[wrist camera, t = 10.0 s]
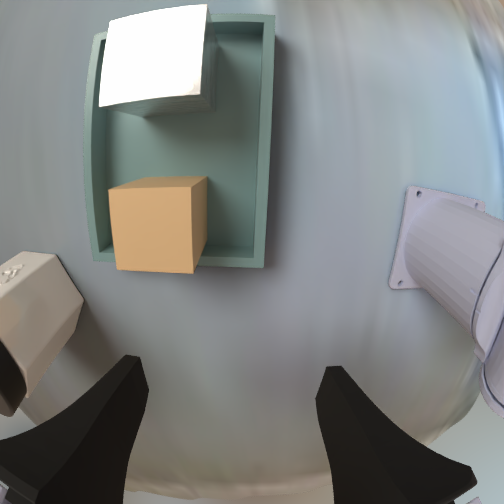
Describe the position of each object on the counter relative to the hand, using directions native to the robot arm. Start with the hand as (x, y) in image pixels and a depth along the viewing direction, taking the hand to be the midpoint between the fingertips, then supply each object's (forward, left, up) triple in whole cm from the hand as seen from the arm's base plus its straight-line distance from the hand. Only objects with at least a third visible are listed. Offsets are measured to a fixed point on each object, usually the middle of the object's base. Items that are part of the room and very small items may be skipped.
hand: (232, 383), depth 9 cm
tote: (+4, -9, -10) cm, 14 cm away
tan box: (+4, -5, -9) cm, 11 cm away
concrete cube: (+4, -13, -9) cm, 16 cm away
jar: (+18, +3, -10) cm, 20 cm away
